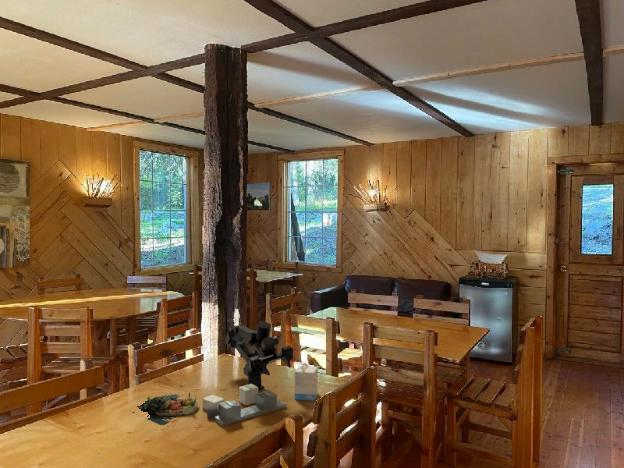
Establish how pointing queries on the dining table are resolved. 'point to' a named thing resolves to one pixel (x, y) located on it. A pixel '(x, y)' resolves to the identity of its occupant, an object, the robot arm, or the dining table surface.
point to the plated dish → (168, 408)
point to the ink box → (306, 382)
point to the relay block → (211, 401)
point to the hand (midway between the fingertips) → (280, 370)
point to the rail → (248, 408)
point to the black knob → (212, 412)
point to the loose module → (248, 394)
